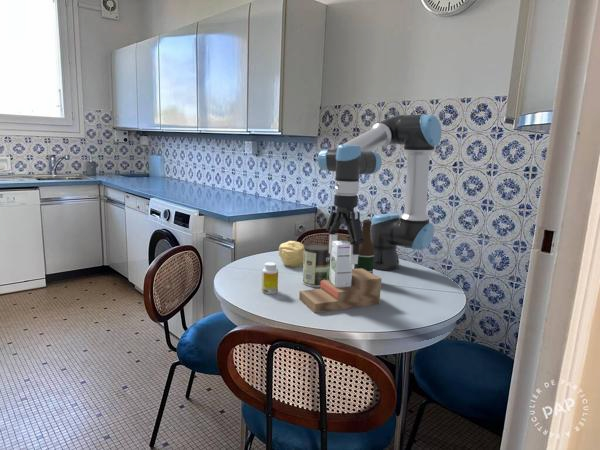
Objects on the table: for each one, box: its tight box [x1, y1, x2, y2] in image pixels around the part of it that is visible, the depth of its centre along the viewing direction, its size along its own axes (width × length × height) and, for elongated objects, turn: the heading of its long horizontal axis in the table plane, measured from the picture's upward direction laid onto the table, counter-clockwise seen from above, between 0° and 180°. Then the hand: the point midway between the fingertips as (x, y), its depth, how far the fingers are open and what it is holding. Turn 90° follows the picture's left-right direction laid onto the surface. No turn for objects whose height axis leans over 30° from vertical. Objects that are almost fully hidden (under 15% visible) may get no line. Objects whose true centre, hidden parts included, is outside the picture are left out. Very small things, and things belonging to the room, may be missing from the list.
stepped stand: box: [298, 268, 382, 314], centre depth 139 cm, size 24×12×9 cm, turn 114°
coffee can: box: [302, 243, 332, 288], centre depth 156 cm, size 10×10×14 cm
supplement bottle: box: [261, 261, 279, 295], centre depth 145 cm, size 6×6×10 cm
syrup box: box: [329, 239, 353, 288], centre depth 137 cm, size 6×6×14 cm
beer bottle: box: [353, 219, 374, 274], centre depth 161 cm, size 8×8×24 cm
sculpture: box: [278, 240, 305, 268], centre depth 179 cm, size 12×12×11 cm
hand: (342, 258), depth 137 cm, fingers open, 13 cm apart
